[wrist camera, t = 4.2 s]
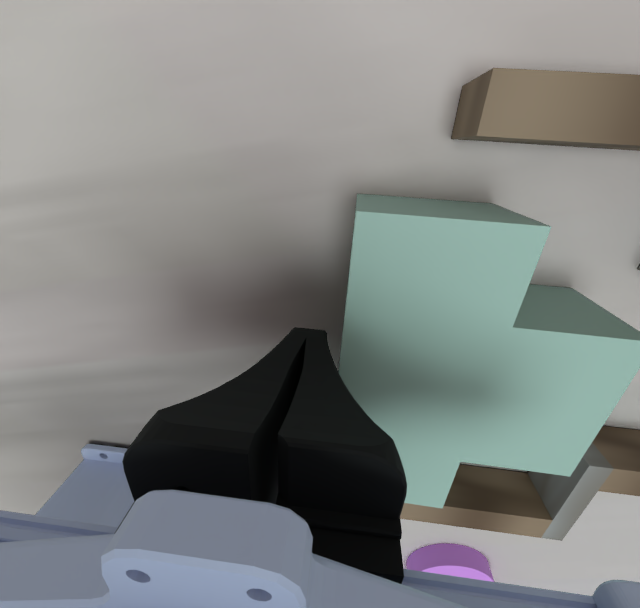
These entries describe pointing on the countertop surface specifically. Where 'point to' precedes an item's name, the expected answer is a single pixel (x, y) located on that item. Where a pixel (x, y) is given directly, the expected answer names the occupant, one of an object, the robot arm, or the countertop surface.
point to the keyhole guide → (636, 134)
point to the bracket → (450, 561)
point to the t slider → (473, 343)
